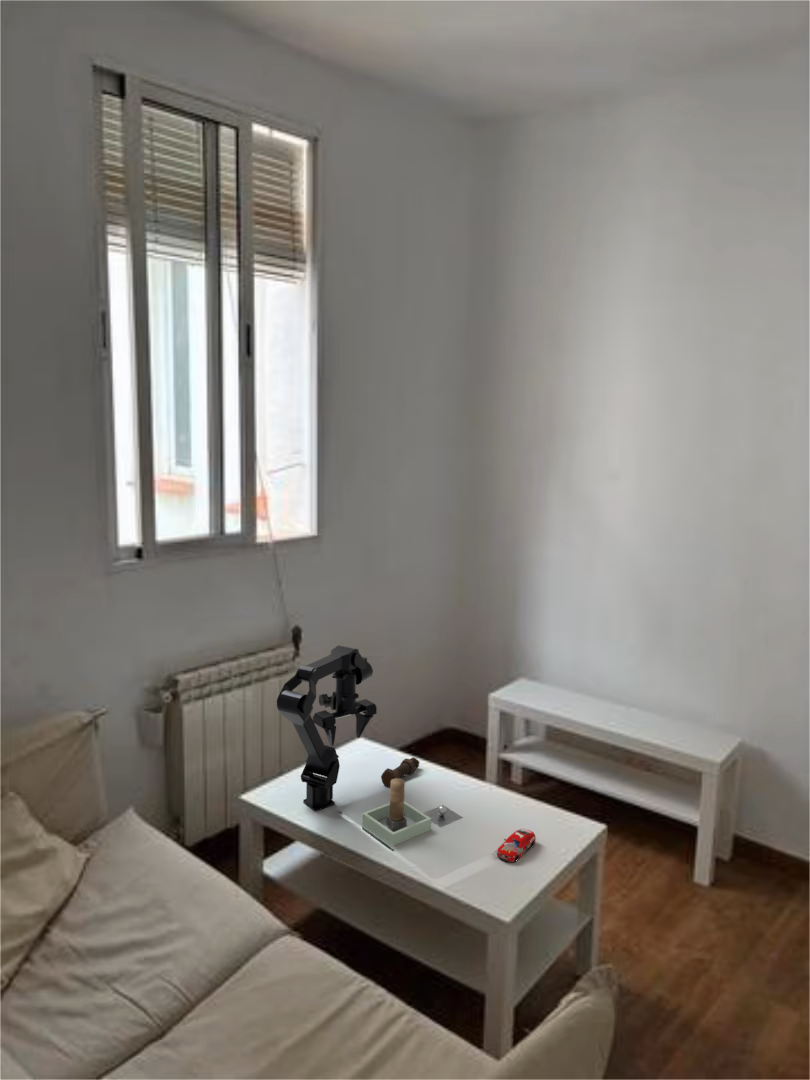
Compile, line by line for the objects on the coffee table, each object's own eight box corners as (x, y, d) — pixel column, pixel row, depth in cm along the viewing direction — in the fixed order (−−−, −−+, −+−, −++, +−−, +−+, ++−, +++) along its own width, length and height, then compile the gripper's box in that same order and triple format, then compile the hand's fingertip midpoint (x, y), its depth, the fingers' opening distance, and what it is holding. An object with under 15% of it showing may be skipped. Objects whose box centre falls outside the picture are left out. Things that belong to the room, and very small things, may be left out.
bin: (392, 851, 196) (393, 834, 196) (362, 829, 206) (362, 813, 205) (430, 834, 204) (431, 818, 204) (399, 814, 214) (400, 798, 213)
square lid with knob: (440, 832, 206) (441, 817, 205) (420, 819, 212) (420, 804, 211) (462, 822, 211) (463, 808, 210) (442, 810, 217) (443, 795, 216)
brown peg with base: (392, 833, 202) (393, 786, 200) (386, 825, 206) (387, 779, 204) (406, 830, 204) (407, 783, 202) (400, 822, 208) (401, 776, 205)
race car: (511, 867, 192) (512, 852, 191) (492, 858, 195) (493, 843, 195) (539, 844, 202) (540, 829, 201) (520, 836, 205) (521, 822, 205)
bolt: (417, 774, 241) (390, 792, 228) (405, 762, 243) (377, 780, 230) (426, 761, 238) (399, 779, 226) (414, 749, 240) (387, 766, 228)
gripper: (356, 674, 236) (355, 724, 239) (302, 688, 225) (302, 739, 227) (378, 686, 228) (377, 737, 231) (324, 700, 216) (323, 754, 219)
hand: (345, 741), depth 227 cm, fingers open, 9 cm apart
